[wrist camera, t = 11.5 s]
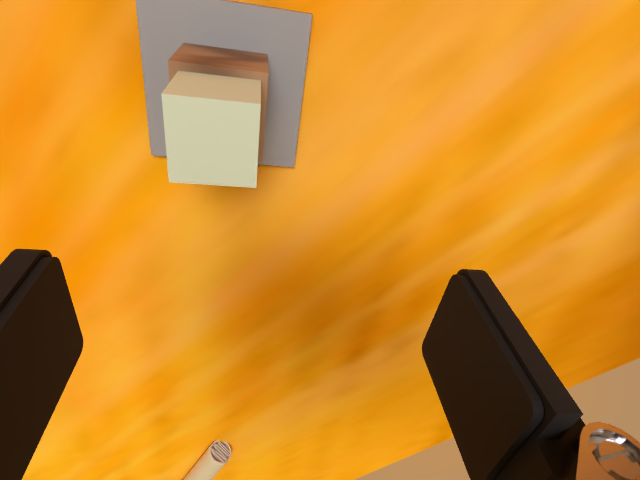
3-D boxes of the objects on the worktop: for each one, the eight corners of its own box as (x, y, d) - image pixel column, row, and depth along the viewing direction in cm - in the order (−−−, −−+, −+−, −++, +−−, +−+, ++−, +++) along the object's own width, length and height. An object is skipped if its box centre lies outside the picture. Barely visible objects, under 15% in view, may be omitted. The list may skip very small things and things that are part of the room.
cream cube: (260, 80, 25) (260, 104, 21) (256, 154, 28) (256, 188, 24) (178, 70, 24) (161, 93, 20) (182, 148, 27) (168, 182, 23)
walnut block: (267, 53, 30) (268, 72, 25) (262, 131, 33) (262, 161, 28) (183, 42, 29) (167, 60, 24) (187, 123, 32) (173, 153, 27)
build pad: (311, 13, 29) (312, 14, 29) (293, 163, 36) (294, 167, 35) (137, -14, 27) (134, -14, 26) (153, 151, 34) (151, 155, 33)
